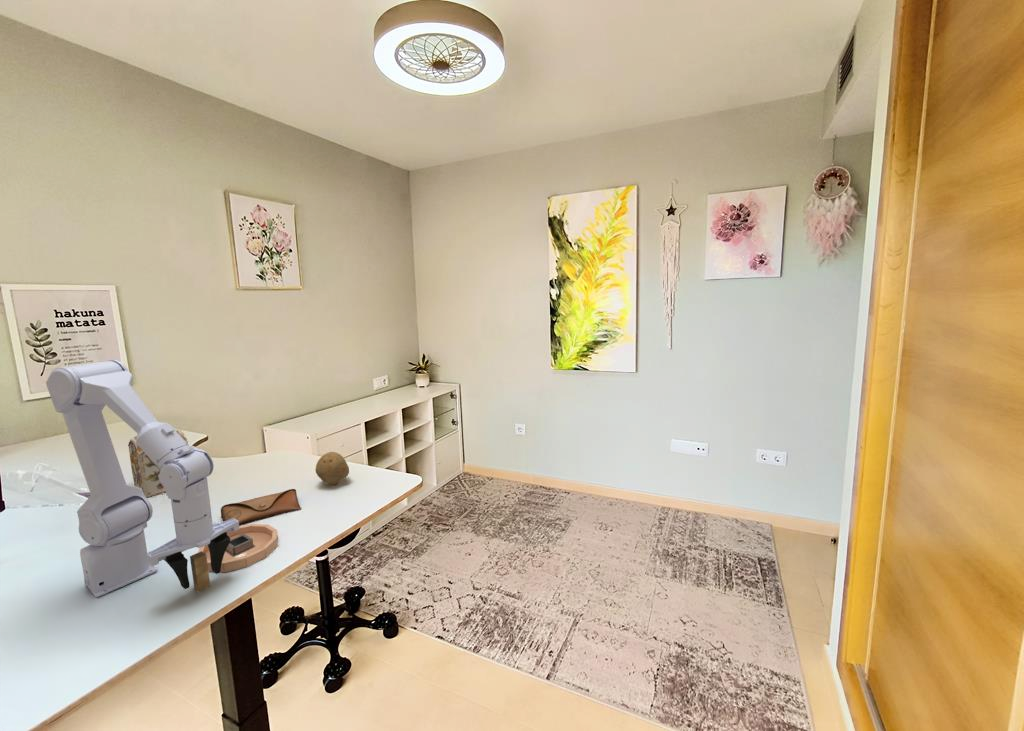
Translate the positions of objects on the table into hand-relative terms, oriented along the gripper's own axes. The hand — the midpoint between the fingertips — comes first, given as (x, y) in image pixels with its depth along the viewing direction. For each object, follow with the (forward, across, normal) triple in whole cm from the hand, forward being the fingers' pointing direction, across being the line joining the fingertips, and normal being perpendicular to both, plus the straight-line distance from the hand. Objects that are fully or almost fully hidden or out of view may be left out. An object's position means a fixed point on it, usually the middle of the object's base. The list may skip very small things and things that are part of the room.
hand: (201, 578), depth 83 cm
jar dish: (+2, +10, +7) cm, 12 cm away
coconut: (+2, +42, +20) cm, 47 cm away
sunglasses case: (+3, +21, +20) cm, 29 cm away
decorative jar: (+2, +13, +60) cm, 61 cm away
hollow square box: (+2, +10, +7) cm, 12 cm away
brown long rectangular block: (+2, 0, 0) cm, 2 cm away
